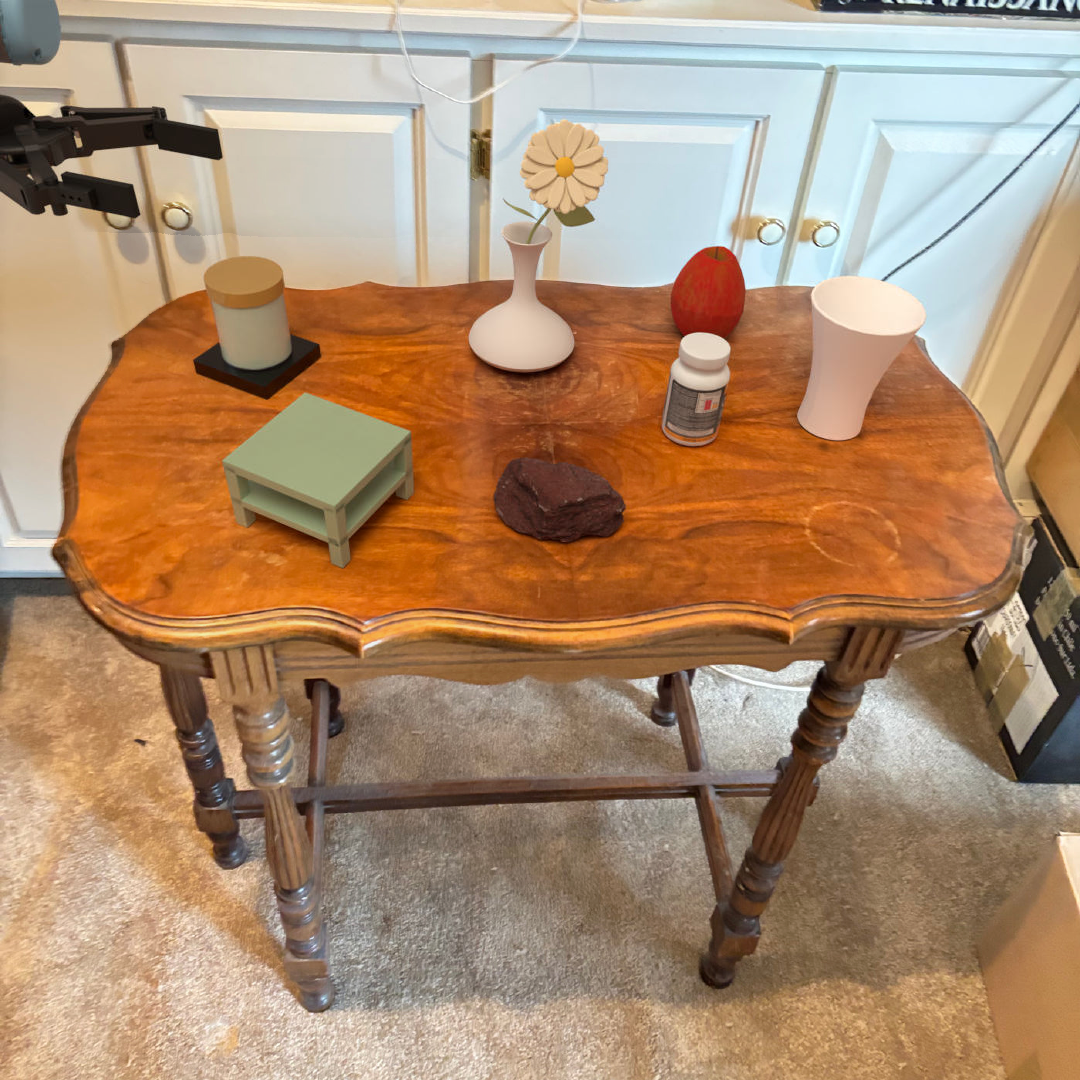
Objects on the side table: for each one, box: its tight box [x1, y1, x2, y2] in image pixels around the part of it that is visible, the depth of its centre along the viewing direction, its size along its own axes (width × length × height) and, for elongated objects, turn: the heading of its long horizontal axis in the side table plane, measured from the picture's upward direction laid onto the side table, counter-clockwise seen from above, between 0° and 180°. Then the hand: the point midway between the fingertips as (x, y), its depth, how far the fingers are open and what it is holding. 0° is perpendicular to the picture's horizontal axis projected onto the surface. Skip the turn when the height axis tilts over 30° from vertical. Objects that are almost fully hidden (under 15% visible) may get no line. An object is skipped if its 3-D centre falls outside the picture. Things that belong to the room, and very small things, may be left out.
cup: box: [796, 275, 927, 441], centre depth 91 cm, size 10×10×14 cm
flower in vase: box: [468, 118, 609, 373], centre depth 93 cm, size 13×11×25 cm
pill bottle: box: [661, 333, 732, 447], centre depth 90 cm, size 6×6×10 cm
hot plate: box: [192, 333, 322, 400], centre depth 97 cm, size 9×9×2 cm
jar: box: [203, 255, 292, 369], centre depth 93 cm, size 7×7×8 cm
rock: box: [492, 457, 627, 543], centre depth 82 cm, size 11×6×8 cm
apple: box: [670, 245, 747, 340], centre depth 103 cm, size 8×8×11 cm
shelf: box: [221, 392, 415, 569], centre depth 80 cm, size 11×11×7 cm
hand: (179, 171), depth 85 cm, fingers open, 13 cm apart
